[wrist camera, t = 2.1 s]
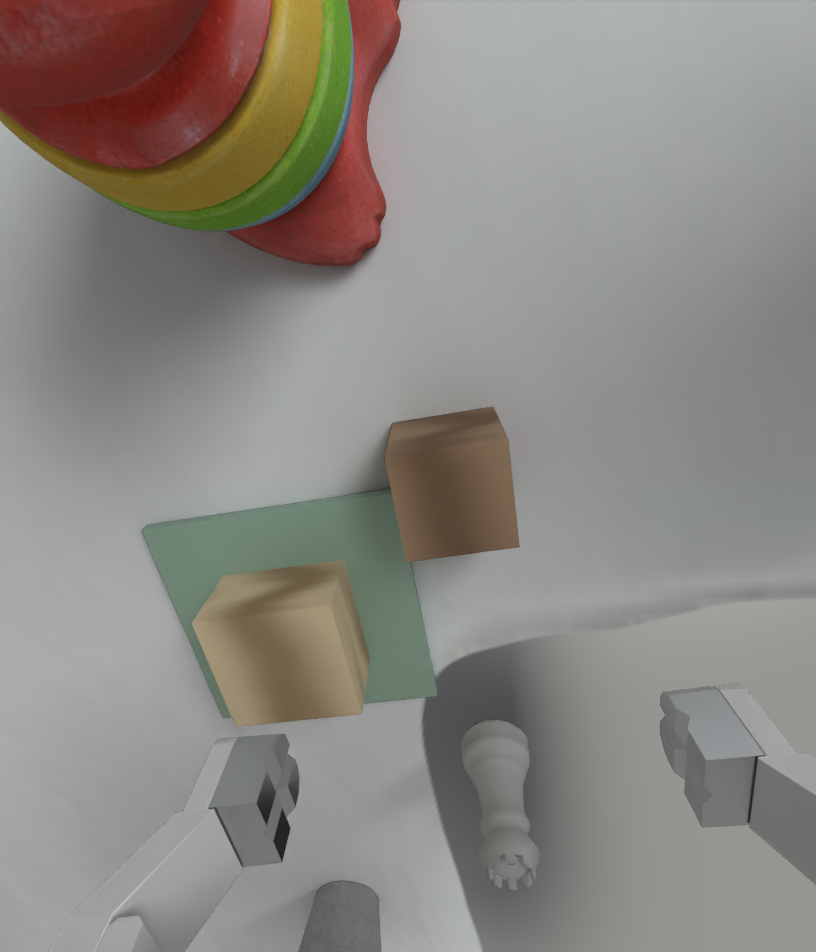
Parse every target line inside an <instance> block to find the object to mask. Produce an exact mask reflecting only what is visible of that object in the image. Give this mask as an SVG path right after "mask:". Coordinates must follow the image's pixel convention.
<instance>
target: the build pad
mask: <svg viewBox="0 0 816 952" xmlns="http://www.w3.org/2000/svg"><path fill="white" fill-rule="evenodd" d="M141 531H142V533H143V536H144V538H145V540H146V543H147V545H148V547H149V549H150V552H151V554H152V556H153V559H154V561H155V563H156V566H157V568H158V570H159V572H160V575H161V577H162V579H163V582H164V584H165V586H166V588H167V591H168V593H169V595H170V598H171V600H172V602H173V605H174V607H175V609H176V611H177V614H178V616H179V618H180V621H181V623H182V625H183V628H184V630H185V632H186V634H187V637H188V639H189V641H190V644H191V646H192V648H193V651H194V653H195V655H196V657H197V660H198V662H199V664H200V667H201V669H202V671H203V673H204V676H205V678H206V680H207V683H208V685H209V687H210V690H211V692H212V694H213V696H214V699H215V701H216V703H217V706H218V708H219V710H220V713H221V715H222V717H223V718H230V717H231V715H230V712H229V710H228V708H227V705H226V703H225V701H224V698H223V696H222V694H221V691H220V689H219V687H218V684H217V682H216V680H215V677H214V675H213V672H212V670H211V668H210V665H209V663H208V661H207V658H206V656H205V654H204V651H203V649H202V647H201V644H200V642H199V640H198V637H197V635H196V633H195V630H194V628H193V626H192V622H193V620H194V619H195V617H196V616H197V614H198V613H199V611H200V610H201V608H202V607H203V605H204V604H205V602H206V601H207V599H208V598H209V596H210V595H211V593H212V592H213V590H214V589H215V587H216V586H217V584H218V583H219V581H220V580H221V578H222V577H223V576H227V575H235V574H242V573H249V572H257V571H264V570H272V569H279V568H286V567H294V566H301V565H309V564H316V563H324V562H331V561H338V560H344V562H345V566H346V569H347V573H348V577H349V581H350V584H351V588H352V592H353V596H354V600H355V603H356V607H357V611H358V615H359V618H360V622H361V626H362V630H363V633H364V637H365V641H366V645H367V648H368V652H369V656H370V663H369V670H368V677H367V684H366V690H365V697H364V704H365V703H375V702H384V701H394V700H404V699H413V698H423V697H431V696H437V687H436V682H435V677H434V672H433V667H432V662H431V658H430V653H429V648H428V643H427V638H426V633H425V628H424V624H423V619H422V614H421V609H420V604H419V599H418V595H417V590H416V585H415V580H414V575H413V570H412V565H411V562H406V559H405V554H404V549H403V545H402V540H401V535H400V530H399V526H398V521H397V516H396V511H395V507H394V502H393V497H392V492H391V489H387V490H380V491H373V492H367V493H360V494H353V495H346V496H340V497H333V498H326V499H320V500H313V501H306V502H299V503H293V504H286V505H279V506H272V507H266V508H259V509H252V510H245V511H239V512H232V513H225V514H219V515H212V516H205V517H198V518H192V519H185V520H178V521H171V522H165V523H158V524H151V525H147V526H146V527H144V528H143V529H142V530H141Z"/></svg>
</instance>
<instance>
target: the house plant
mask: <svg viewBox="0 0 816 952" xmlns="http://www.w3.org/2000/svg"><path fill="white" fill-rule="evenodd" d="M298 952H381V937H380V919H379V900H378V897H377V895H376V893H375V892H374V891H373V890H372V889H370V888H368V887H367V886H365V885H361V884H358V883H354V882H347V881H336V882H331V883H328V884H326V885H324V886H322V887H321V888H320V889H319V890H318V891H317V894H316V897H315V900H314V903H313V907H312V910H311V913H310V916H309V919H308V922H307V926H306V929H305V932H304V935H303V938H302V941H301V944H300V948H299V951H298Z"/></svg>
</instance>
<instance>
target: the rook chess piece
mask: <svg viewBox="0 0 816 952" xmlns="http://www.w3.org/2000/svg"><path fill="white" fill-rule="evenodd" d="M460 746H461V753H462V759H463V766H464V768H465V771H466V772H467V773H468V775H469V776H470V777H471V781H472V782H473V784H474V785H475V786H476V788H477V790H478V795H479V799H480V803H481V808H482V813H483V820H482V822H481V824H480V827H481V832H482V833H483V834H484V836H485V837H486V840H485V842H484V844H483V846H482V848H481V850H480V851H479V861H480V862H481V863H482V865H483V866H484V867H485V868H486V869H487V873H488V880H492V885H493V886H495V887H496V888H498V889H500V888H501V887H502V880H505V881H507V882H508V890H509V891H518V887H517V881H518V880H521V879H523V885H524V886H525V887H526V888H528V887H529V886H531V885H532V884H533V879H532V878H537V874H536V866H537V864H538V862H539V860H540V851H539V849H538V848H537V846H536V845H535V844H534V843H533V841H532V840H531V839H530V838H529V836H528V832H529V830H530V829H531V827H530V821H529V820H528V818H527V817H526V816H525V811H524V805H523V783H524V781H525V779H526V772H527V771H528V769H529V765H530V752H529V751H528V739H527V737H526V736H525V734H524V733H523V732H522V730H520V729H519V728H518V727H516V726H514V725H513V724H511V723H510V722H508V721H504V720H499V719H489V720H484V721H482V722H479V723H476V724H474V725H473V726H472V727H471V728H470V729H469V730H468V731H467V732H466V733H465V734H464V736H463V738H462V741H461V743H460Z"/></svg>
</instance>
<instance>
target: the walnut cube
mask: <svg viewBox="0 0 816 952" xmlns="http://www.w3.org/2000/svg"><path fill="white" fill-rule="evenodd" d="M384 459H385V464H386V469H387V473H388V478H389V483H390V488H391V492H392V497H393V502H394V507H395V511H396V516H397V521H398V526H399V530H400V535H401V540H402V545H403V549H404V554H405V559H406V562H411V561H418V560H426V559H434V558H441V557H449V556H456V555H464V554H471V553H479V552H486V551H494V550H502V549H509V548H517V547H519V537H518V528H517V519H516V509H515V500H514V491H513V481H512V472H511V463H510V453H509V444H508V438H507V436H506V434H505V432H504V429H503V427H502V425H501V423H500V421H499V418H498V416H497V414H496V412H495V410H494V407H487V408H481V409H475V410H469V411H463V412H457V413H450V414H444V415H438V416H432V417H426V418H420V419H413V420H407V421H401V422H395V423H392V427H391V431H390V436H389V440H388V444H387V449H386V453H385V457H384Z"/></svg>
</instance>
